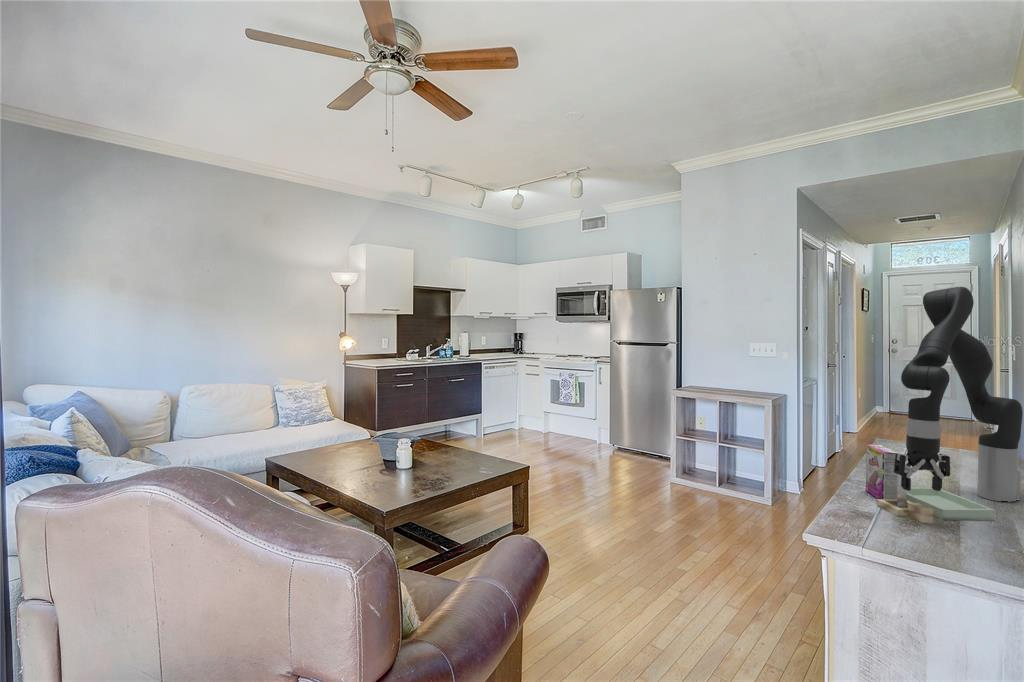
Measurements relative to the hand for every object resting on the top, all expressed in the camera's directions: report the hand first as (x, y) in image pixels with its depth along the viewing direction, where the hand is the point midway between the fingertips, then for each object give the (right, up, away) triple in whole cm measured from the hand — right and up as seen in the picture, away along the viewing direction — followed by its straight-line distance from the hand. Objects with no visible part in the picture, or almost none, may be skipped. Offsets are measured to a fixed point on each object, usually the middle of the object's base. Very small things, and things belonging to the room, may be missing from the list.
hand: (921, 490), depth 143 cm
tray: (+15, -9, +10) cm, 20 cm away
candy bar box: (+3, -9, +19) cm, 22 cm away
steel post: (0, -9, +8) cm, 12 cm away
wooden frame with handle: (0, -9, +5) cm, 10 cm away
